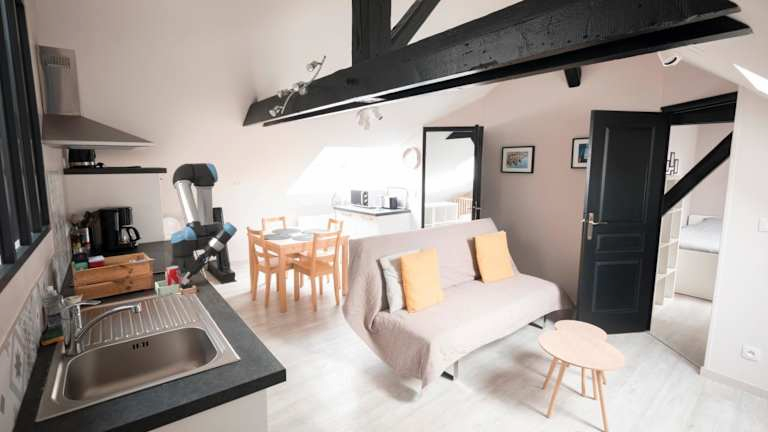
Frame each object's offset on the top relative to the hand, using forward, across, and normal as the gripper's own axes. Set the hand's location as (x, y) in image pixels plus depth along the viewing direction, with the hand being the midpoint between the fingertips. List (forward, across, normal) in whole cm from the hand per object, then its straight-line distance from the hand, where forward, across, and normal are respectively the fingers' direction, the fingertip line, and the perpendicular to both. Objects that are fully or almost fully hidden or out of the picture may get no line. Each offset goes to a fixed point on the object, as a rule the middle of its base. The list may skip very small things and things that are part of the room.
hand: (182, 283), depth 200 cm
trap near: (+1, -8, -3) cm, 9 cm away
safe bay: (+7, +1, +3) cm, 7 cm away
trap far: (+1, +10, -3) cm, 11 cm away
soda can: (+5, +1, +1) cm, 5 cm away
